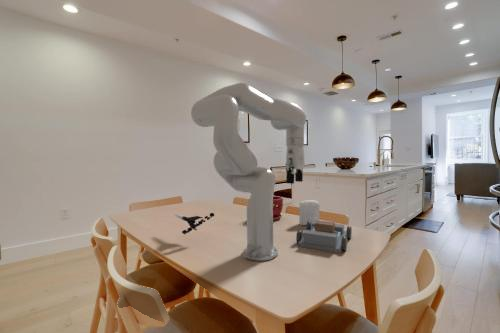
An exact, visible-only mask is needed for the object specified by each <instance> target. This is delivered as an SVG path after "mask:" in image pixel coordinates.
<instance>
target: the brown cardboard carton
mask: <svg viewBox="0 0 500 333" xmlns="http://www.w3.org/2000/svg"><path fill="white" fill-rule="evenodd" d="M315 231H318V232H326V233H333V234H335V221H326V220H320V219H319V220H317V221H316V222H315Z"/></svg>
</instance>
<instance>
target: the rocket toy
mask: <svg viewBox="0 0 500 333" xmlns="http://www.w3.org/2000/svg"><path fill="white" fill-rule="evenodd" d="M173 215H174V217H177V219H180V220H182V221H185V222H187V224H188V226H190V227H188V228H187V230H186V229H183V230H182V231H181V233H182V234H183V235H187V234H188V233H190V232H192V231H193V230H195V231H198V229H197V227H199V226H201V225H202V224H203V223H205V222H206V220H207V221H209V220H210V219H211V218H212V217H215V213H214V212H210V213H209V216H208V215H205V216H204V219H203V217H202V216H199V215H195V216H194V215H193V216H189V217H187V216H185V215H181V214H173ZM197 220H199V221H198V222H196V221H197Z"/></svg>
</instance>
